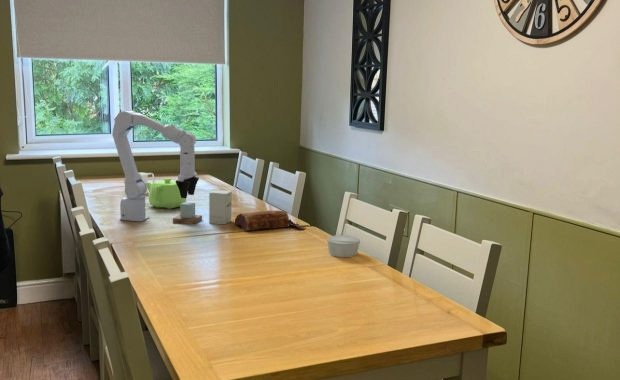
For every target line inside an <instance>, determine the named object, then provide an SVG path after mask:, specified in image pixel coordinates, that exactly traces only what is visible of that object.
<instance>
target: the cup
mask: <svg viewBox="0 0 620 380" xmlns="http://www.w3.org/2000/svg"><path fill="white" fill-rule="evenodd" d="M138 173H139V174H140V176H141V177H142V180H143V181H144V182H145V184H146V183H149V182H148V180H149V179H148V176H152V183H154V182H155V181H156V179H155V174H154V173H153V172H139V171H138ZM146 186H147V185H146ZM147 194H149V190H148V188H147V190H146V192H145V193H144V195H147Z"/></svg>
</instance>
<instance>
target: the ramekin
mask: <svg viewBox="0 0 620 380" xmlns="http://www.w3.org/2000/svg"><path fill="white" fill-rule="evenodd" d="M326 241H327V246H328V253H329V254H330V255H331V256H332V255H333V257H335V256H339V257H338V258H342V257H348V258H351V257H350V256H354V255H355V256H357V254H358V252H359V246H360V244H361V239H360V238H358V237H356V236H352V235H338V234H337V235H331V236H329V237H327V239H326ZM355 256H354V257H355Z"/></svg>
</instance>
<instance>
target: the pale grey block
mask: <svg viewBox="0 0 620 380" xmlns="http://www.w3.org/2000/svg"><path fill="white" fill-rule="evenodd" d="M179 207H180V208H179V209H180V210H179V211H180V213H179V215H180V217H183V218H192V217H194V216H195V215H196V202H189V201H186V202H184V203H181V204H180V206H179Z"/></svg>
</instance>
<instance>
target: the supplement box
mask: <svg viewBox="0 0 620 380" xmlns="http://www.w3.org/2000/svg"><path fill="white" fill-rule="evenodd" d="M232 197H233V192H232V190H218V189H217V190H213V191H211V192H209V197H208V199H209V201H208V202H209V203H208V205H209V206H208V208H209V210H208V211H209V212H208V213H209V214H208V224H215V225H216V224H218V225H226V224H228V223H230V222H231V221H232V204H233V203H232V202H233V201H232V199H233V198H232Z"/></svg>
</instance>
